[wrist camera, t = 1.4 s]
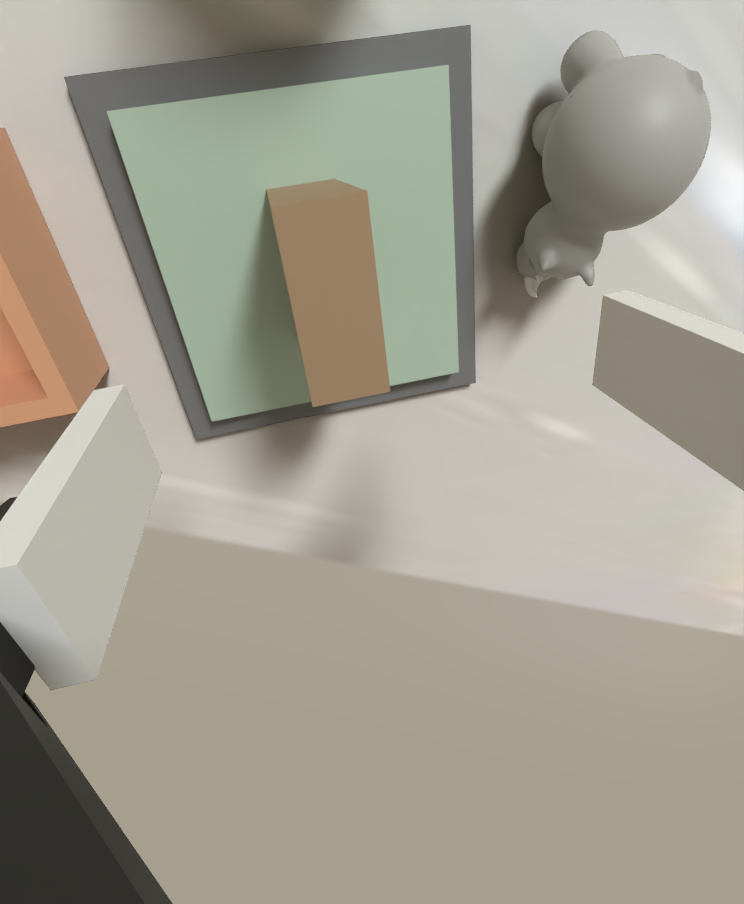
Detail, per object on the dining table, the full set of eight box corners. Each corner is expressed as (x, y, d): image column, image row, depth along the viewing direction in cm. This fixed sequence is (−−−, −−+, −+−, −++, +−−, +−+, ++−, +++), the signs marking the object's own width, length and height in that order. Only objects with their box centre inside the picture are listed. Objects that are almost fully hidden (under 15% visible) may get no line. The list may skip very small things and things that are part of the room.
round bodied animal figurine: (459, 233, 32) (485, 315, 27) (575, -1, 23) (647, 53, 18) (553, 263, 34) (593, 344, 29) (692, 58, 26) (786, 122, 20)
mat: (68, 78, 23) (63, 76, 22) (466, 27, 25) (470, 24, 24) (197, 434, 33) (196, 439, 32) (472, 379, 35) (475, 382, 34)
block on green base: (111, 112, 23) (29, 91, 15) (442, 67, 25) (536, 25, 16) (212, 414, 32) (196, 509, 23) (453, 366, 33) (520, 439, 25)
